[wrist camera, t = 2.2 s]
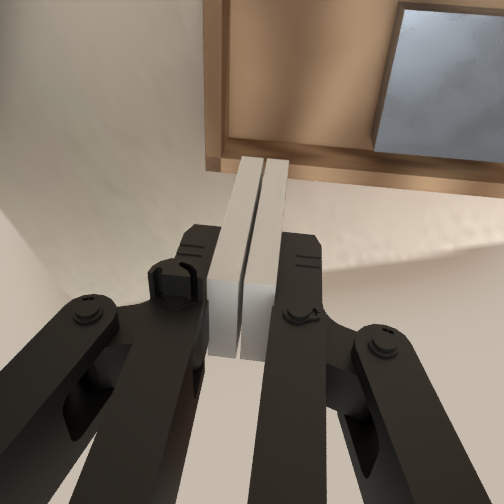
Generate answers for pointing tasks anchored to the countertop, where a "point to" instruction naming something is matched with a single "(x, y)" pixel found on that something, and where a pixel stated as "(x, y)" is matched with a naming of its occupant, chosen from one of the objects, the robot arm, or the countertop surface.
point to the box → (316, 94)
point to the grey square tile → (443, 84)
